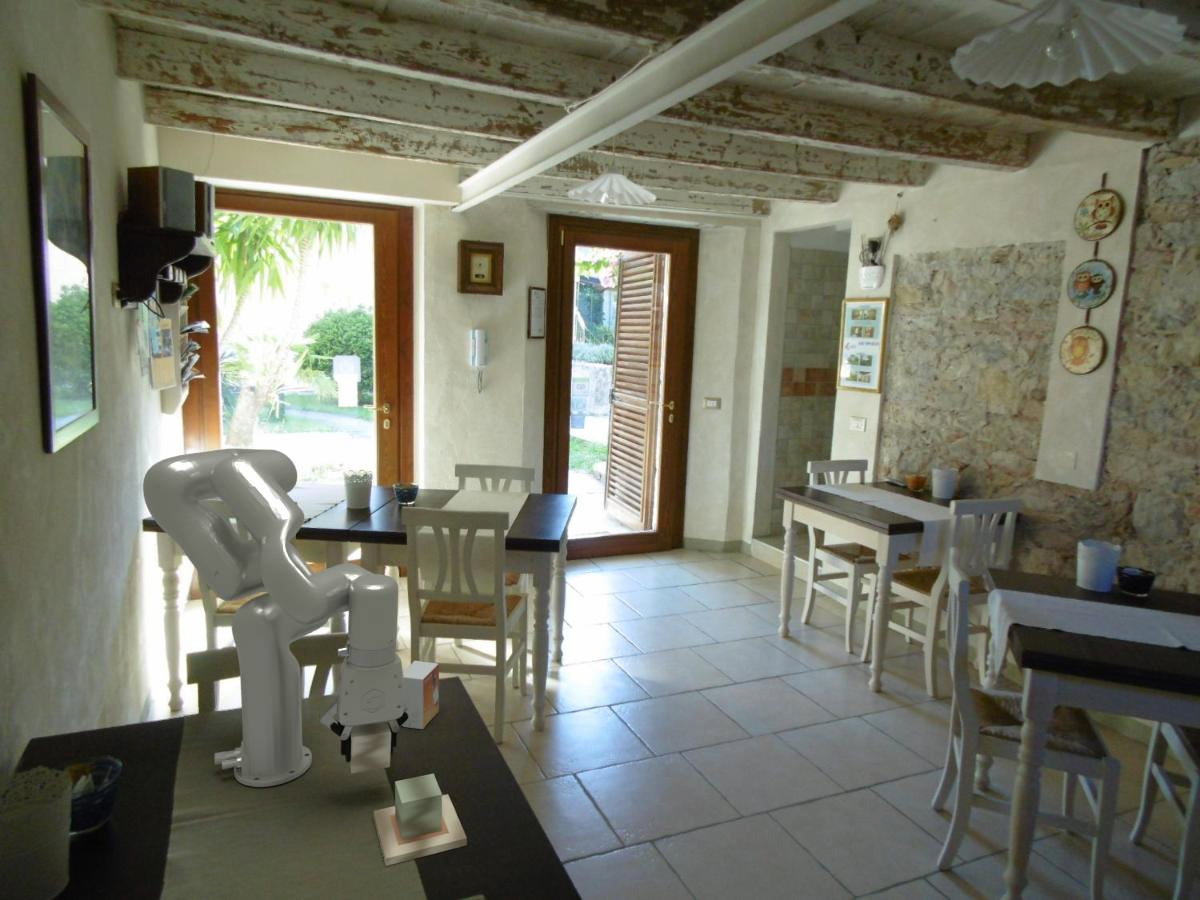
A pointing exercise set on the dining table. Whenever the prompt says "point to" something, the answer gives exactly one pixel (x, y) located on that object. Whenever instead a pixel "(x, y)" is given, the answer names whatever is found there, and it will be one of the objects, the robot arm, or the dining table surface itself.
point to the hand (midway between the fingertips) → (368, 753)
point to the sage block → (418, 806)
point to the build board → (420, 845)
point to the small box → (422, 692)
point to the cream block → (370, 747)
